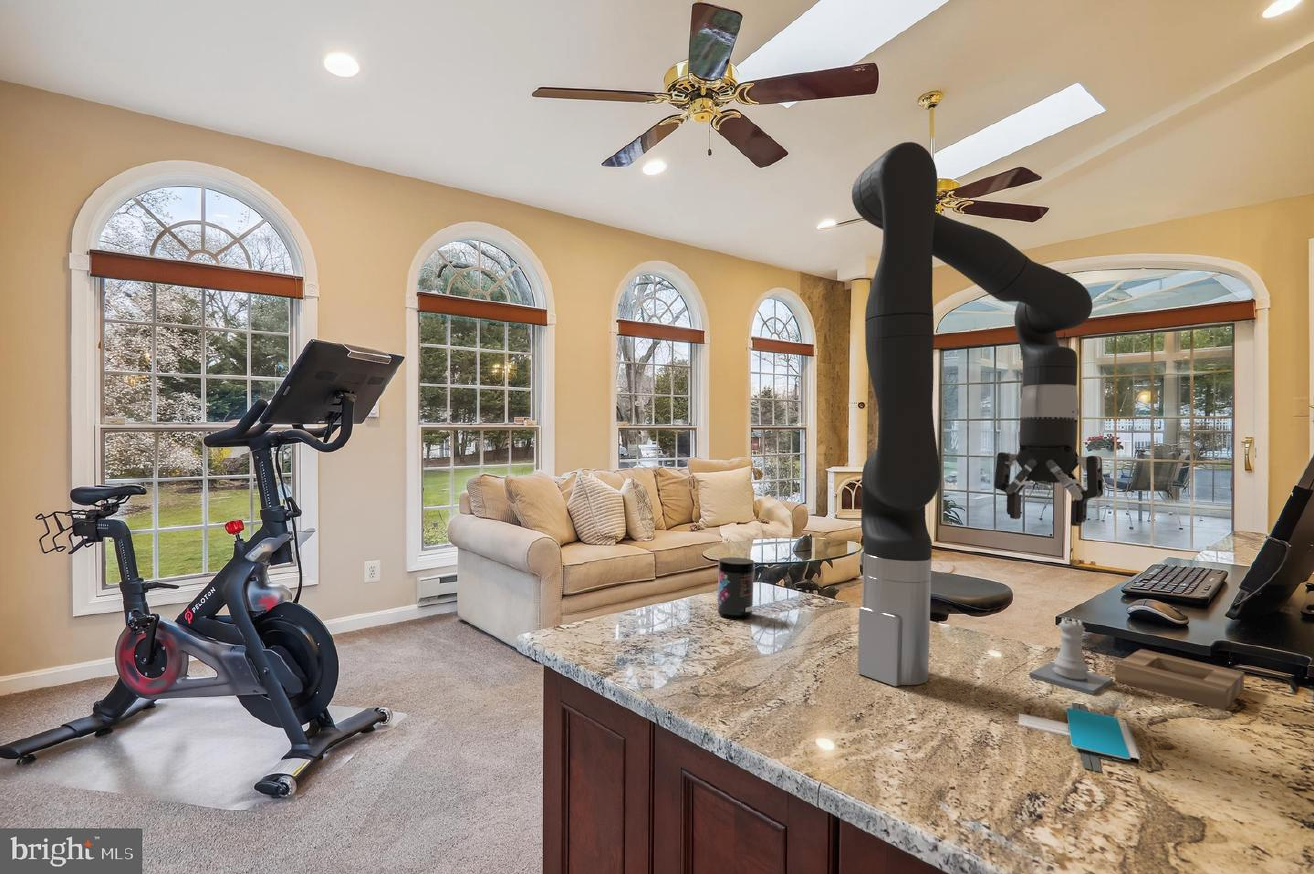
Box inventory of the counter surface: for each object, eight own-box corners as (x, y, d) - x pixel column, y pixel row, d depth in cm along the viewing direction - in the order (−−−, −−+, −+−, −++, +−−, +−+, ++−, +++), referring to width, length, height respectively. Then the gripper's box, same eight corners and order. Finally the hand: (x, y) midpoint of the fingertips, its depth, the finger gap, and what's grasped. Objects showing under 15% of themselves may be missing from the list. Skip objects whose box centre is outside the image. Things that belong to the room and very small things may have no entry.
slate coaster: (1093, 695, 86) (1093, 690, 86) (1029, 676, 92) (1029, 672, 92) (1112, 682, 91) (1112, 678, 91) (1051, 666, 97) (1051, 662, 97)
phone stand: (1019, 697, 86) (1019, 685, 86) (1128, 719, 80) (1128, 705, 80) (1017, 758, 69) (1018, 743, 69) (1155, 791, 63) (1156, 775, 63)
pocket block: (1224, 710, 82) (1225, 690, 82) (1115, 681, 92) (1115, 663, 92) (1243, 689, 90) (1244, 672, 90) (1140, 664, 99) (1141, 648, 99)
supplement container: (727, 608, 126) (728, 555, 126) (758, 614, 122) (760, 560, 122) (710, 615, 120) (712, 560, 120) (743, 622, 116) (744, 565, 116)
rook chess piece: (1095, 682, 89) (1096, 625, 89) (1060, 679, 90) (1061, 623, 90) (1080, 671, 93) (1082, 617, 94) (1047, 668, 94) (1048, 614, 94)
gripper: (989, 415, 100) (985, 517, 100) (1092, 414, 89) (1089, 529, 89) (1010, 417, 105) (1007, 515, 105) (1112, 417, 94) (1108, 526, 94)
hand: (1044, 522), depth 97 cm, fingers open, 8 cm apart
